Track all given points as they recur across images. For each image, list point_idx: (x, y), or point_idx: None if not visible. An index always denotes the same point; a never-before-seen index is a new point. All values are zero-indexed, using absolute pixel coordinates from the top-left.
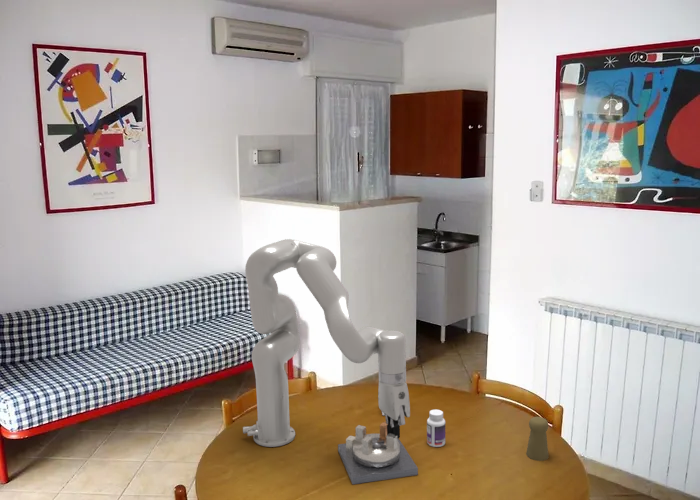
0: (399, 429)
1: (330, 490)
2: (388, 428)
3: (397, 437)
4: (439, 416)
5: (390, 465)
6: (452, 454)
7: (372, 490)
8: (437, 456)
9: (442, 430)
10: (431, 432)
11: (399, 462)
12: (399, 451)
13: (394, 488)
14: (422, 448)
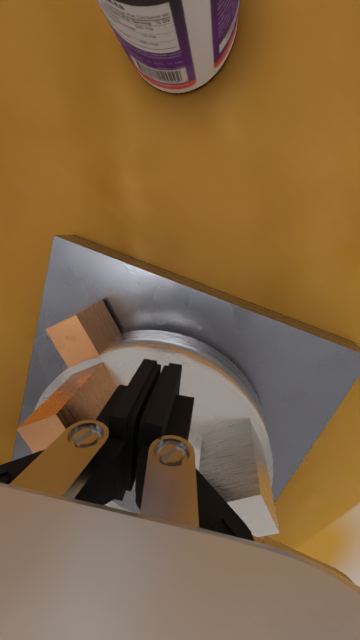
0: (171, 398)
1: None
2: (133, 477)
3: (179, 381)
4: None
5: None
6: (351, 27)
7: (304, 516)
8: (301, 138)
9: None
10: (187, 33)
11: (268, 389)
12: (238, 381)
13: (353, 465)
14: (183, 156)
